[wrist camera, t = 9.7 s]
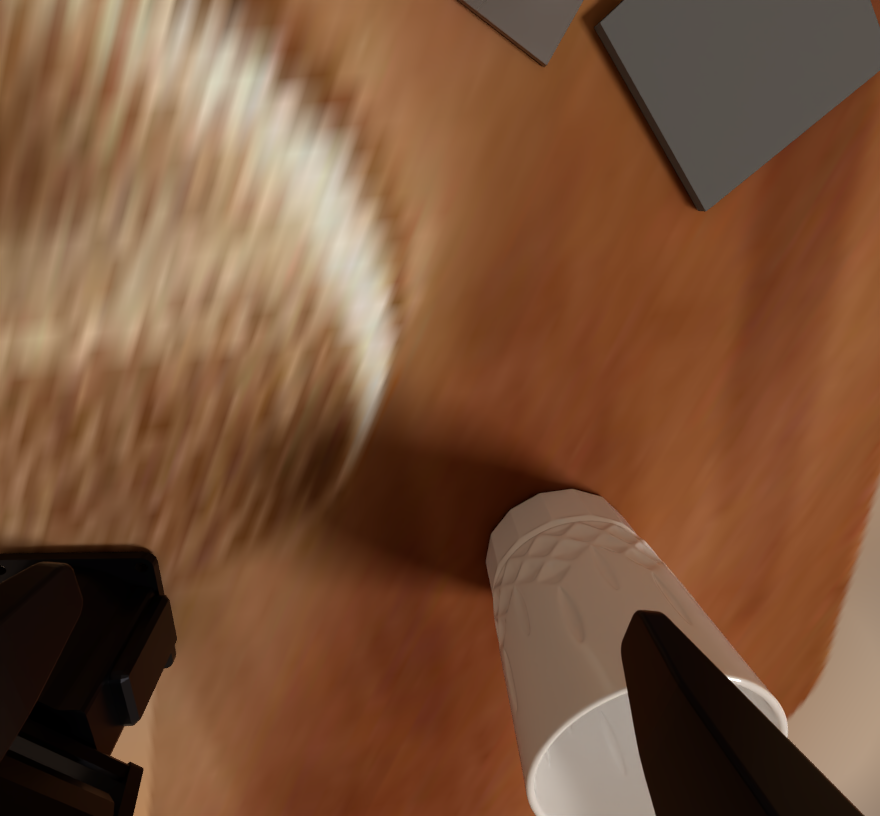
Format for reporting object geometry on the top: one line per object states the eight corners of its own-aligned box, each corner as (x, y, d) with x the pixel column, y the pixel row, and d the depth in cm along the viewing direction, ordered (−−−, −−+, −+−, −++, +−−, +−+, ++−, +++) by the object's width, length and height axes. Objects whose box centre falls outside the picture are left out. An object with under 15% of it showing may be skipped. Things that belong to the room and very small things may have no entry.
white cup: (487, 470, 22) (558, 674, 13) (657, 480, 23) (834, 674, 14) (462, 609, 25) (505, 852, 16) (613, 612, 26) (734, 842, 17)
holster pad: (698, 210, 18) (705, 211, 18) (594, 27, 16) (600, 23, 15) (877, 64, 17) (891, 60, 17) (795, -163, 14) (808, -174, 14)
